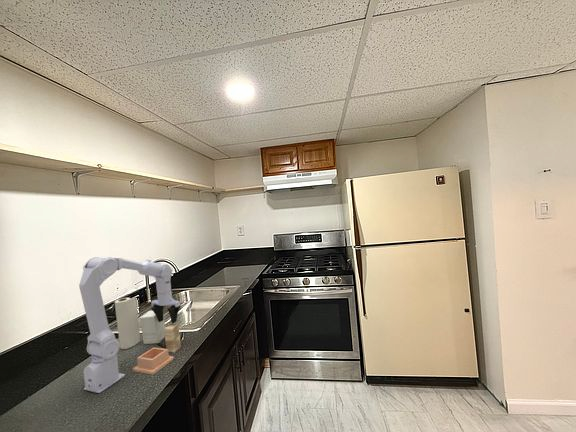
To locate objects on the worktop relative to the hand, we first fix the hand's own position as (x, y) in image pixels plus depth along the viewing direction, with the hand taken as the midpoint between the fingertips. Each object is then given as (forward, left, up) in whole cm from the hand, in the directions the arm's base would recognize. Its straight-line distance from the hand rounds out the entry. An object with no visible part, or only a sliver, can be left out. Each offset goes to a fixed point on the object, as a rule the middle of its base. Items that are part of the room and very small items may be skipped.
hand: (167, 321), depth 118 cm
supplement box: (+2, +10, -10) cm, 15 cm away
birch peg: (-3, -6, -10) cm, 12 cm away
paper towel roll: (-5, +18, -10) cm, 22 cm away
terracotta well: (-14, -6, -10) cm, 19 cm away
